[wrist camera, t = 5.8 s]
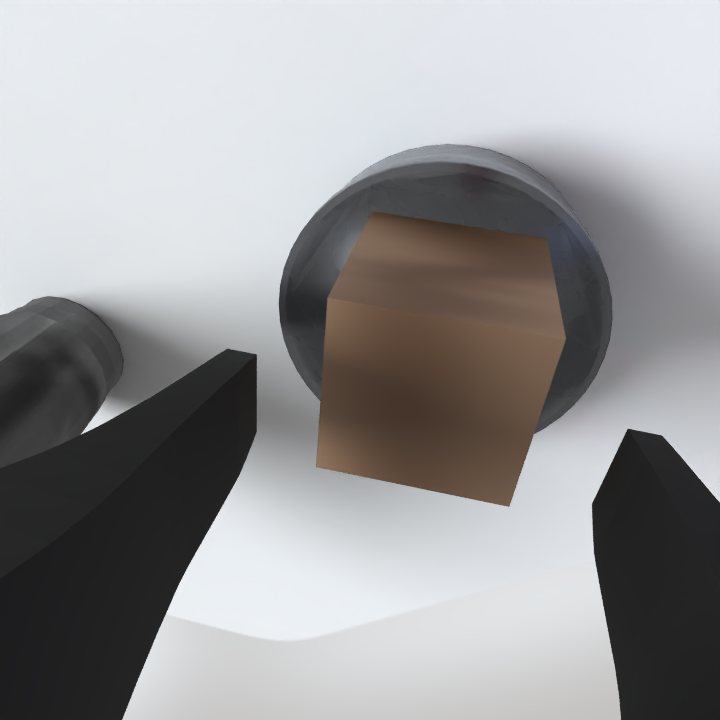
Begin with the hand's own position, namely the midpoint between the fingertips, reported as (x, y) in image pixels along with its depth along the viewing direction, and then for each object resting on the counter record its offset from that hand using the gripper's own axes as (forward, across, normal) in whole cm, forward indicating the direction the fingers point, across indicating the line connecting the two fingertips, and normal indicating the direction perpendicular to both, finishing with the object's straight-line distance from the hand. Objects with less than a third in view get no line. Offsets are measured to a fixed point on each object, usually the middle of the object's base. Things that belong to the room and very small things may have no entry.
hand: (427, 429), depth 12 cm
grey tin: (+9, 0, +1) cm, 9 cm away
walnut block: (+6, 0, 0) cm, 6 cm away
